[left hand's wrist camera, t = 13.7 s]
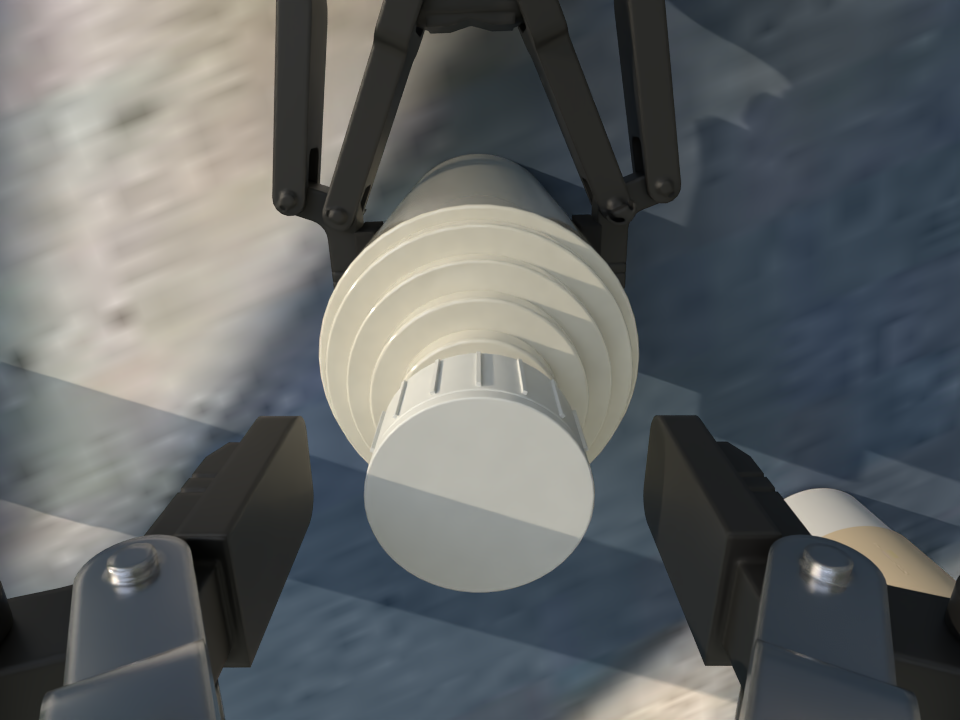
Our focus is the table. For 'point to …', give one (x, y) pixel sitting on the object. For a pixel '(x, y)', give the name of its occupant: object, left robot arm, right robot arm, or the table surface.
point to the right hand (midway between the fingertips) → (482, 372)
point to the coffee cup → (869, 539)
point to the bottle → (478, 299)
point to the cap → (479, 475)
